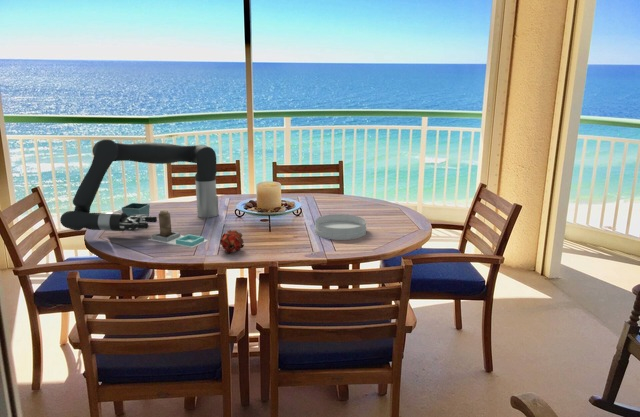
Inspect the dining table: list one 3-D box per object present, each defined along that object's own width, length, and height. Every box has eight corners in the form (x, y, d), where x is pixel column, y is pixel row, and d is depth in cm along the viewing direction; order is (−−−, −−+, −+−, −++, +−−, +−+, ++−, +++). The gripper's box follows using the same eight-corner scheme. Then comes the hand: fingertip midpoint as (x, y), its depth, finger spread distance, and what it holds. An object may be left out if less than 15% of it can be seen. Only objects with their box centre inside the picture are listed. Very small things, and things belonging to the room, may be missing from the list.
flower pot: (141, 228, 212) (139, 208, 210) (122, 227, 214) (120, 207, 211) (151, 223, 220) (150, 203, 218) (134, 221, 222) (132, 202, 220)
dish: (371, 227, 216) (371, 216, 215) (358, 242, 196) (359, 230, 195) (324, 222, 223) (324, 212, 222) (307, 237, 203) (307, 225, 202)
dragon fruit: (235, 248, 192) (233, 264, 181) (217, 237, 190) (214, 252, 179) (247, 232, 190) (246, 247, 179) (229, 221, 187) (227, 235, 176)
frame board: (148, 242, 194) (147, 236, 194) (165, 235, 203) (165, 229, 202) (192, 250, 185) (191, 243, 185) (208, 242, 194) (208, 236, 193)
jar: (170, 235, 199) (168, 209, 196) (173, 238, 196) (171, 211, 193) (159, 237, 197) (157, 210, 194) (162, 240, 193) (159, 213, 191)
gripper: (103, 217, 188) (144, 218, 187) (120, 208, 202) (158, 208, 201) (105, 236, 190) (145, 237, 189) (122, 225, 204) (160, 226, 203)
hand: (152, 222), depth 195 cm, fingers open, 8 cm apart
